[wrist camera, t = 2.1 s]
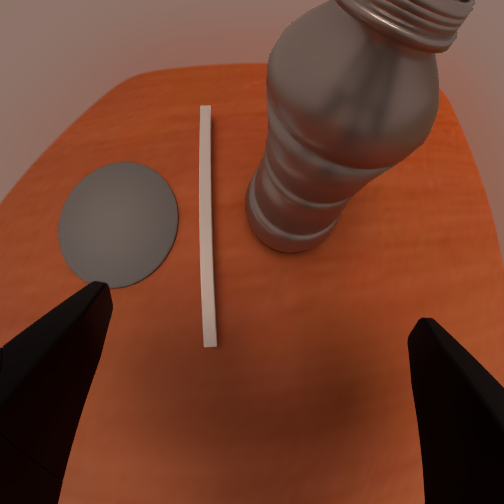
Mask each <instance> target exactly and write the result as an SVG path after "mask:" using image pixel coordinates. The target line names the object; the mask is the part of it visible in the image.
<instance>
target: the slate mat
mask: <svg viewBox="0 0 504 504" xmlns="http://www.w3.org/2000/svg"><path fill="white" fill-rule="evenodd" d="M177 228H178V209H177V204H176V200H175V197H174V195H173V193H172V190H171V188H170V187H169V185H168V184H167V182H166V181H165V180H164V179H163V178H162V176H160V175H159V174H158V173H157V172H156V171H154V170H152V169H151V168H149V167H147V166H144V165H141V164H137V163H131V162H120V163H113V164H109V165H106V166H103V167H101V168H99V169H97V170H95V171H93V172H92V173H90V174H89V175H87V176H86V177H85V178H84V179H83V180H81V181H80V182H79V183H78V184H77V186H76V187H75V188H74V189H73V191H72V192H71V193H70V195H69V197H68V198H67V200H66V202H65V204H64V207H63V209H62V213H61V216H60V221H59V230H58V232H59V244H60V248H61V252H62V254H63V257H64V259H65V261H66V263H67V264H68V266H69V267H70V268H71V270H72V271H73V272H74V273H75V274H76V275H77V276H78V277H80V278H81V279H83V280H84V281H86V282H88V283H91V282H93V281H100V282H106V283H107V284H108V285H109V288H121V287H127V286H130V285H133V284H135V283H137V282H139V281H141V280H143V279H145V278H146V277H148V276H149V275H150V274H152V273H153V272H154V271H155V270H156V269H157V268H158V267H159V266H160V265H161V264H162V263H163V261H164V260H165V258H166V257H167V255H168V254H169V252H170V250H171V248H172V246H173V243H174V240H175V237H176V233H177Z"/></svg>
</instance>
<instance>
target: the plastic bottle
mask: <svg viewBox="0 0 504 504" xmlns="http://www.w3.org/2000/svg"><path fill="white" fill-rule="evenodd" d="M474 4H475V0H330V1H328V2H326V3H323V4H322V5H319V6H317V7H315V8H313V9H312V10H310V11H308V12H307V13H305V14H304V15H302V16H301V17H300V18H298V19H297V20H295V21H294V22H293V23H291V24H290V25H289V26H288V27H287V28H286V29H285V30H284V32H283V33H282V35H281V36H280V38H279V39H278V41H277V42H276V44H275V46H274V48H273V49H272V51H271V53H270V55H269V60H268V65H267V79H266V87H267V116H268V130H267V138H266V147H265V153H264V155H263V158H262V161H261V163H260V166H259V167H258V169H257V170H256V172H255V173H254V175H253V177H252V179H251V181H250V183H249V186H248V188H247V191H246V197H245V209H246V213H247V217H248V221H249V224H250V226H251V228H252V230H253V232H254V233H255V234H256V236H257V237H258V238H259V239H260V240H261V241H262V242H263V243H264V244H266V245H267V246H269V247H270V248H272V249H275V250H278V251H281V252H287V253H293V252H300V251H304V250H308V249H311V248H313V247H315V246H317V245H319V244H320V243H321V242H323V241H324V240H325V239H326V238H327V237H328V236H329V235H330V233H331V232H332V230H333V229H334V227H335V225H336V223H337V221H338V219H339V217H340V215H341V212H342V210H343V209H344V207H345V206H346V204H347V203H348V201H349V200H350V199H351V198H352V197H353V196H354V195H355V194H356V193H357V192H358V191H360V190H361V189H362V188H363V187H364V186H365V185H366V184H367V183H369V182H370V181H372V180H373V179H375V178H376V177H378V176H379V175H381V174H382V173H384V172H386V171H387V170H389V169H390V168H392V167H393V166H395V165H396V164H398V163H399V162H401V161H403V160H404V159H405V158H406V157H408V156H409V155H410V154H411V153H412V152H413V151H415V150H416V149H417V148H418V147H420V146H421V145H422V144H423V143H424V141H425V140H426V138H427V137H428V135H429V133H430V131H431V128H432V126H433V123H434V121H435V118H436V115H437V111H438V107H439V80H438V79H439V78H438V70H437V63H436V57H435V53H442V52H444V51H447V50H448V49H449V47H450V46H451V45H452V43H453V42H454V40H455V39H456V38H457V30H458V29H459V27H460V26H461V25H462V23H463V22H464V20H465V19H466V18H467V16H468V15H469V14H470V12H471V11H472V10H473V8H472V6H473V5H474Z"/></svg>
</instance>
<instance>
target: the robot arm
mask: <svg viewBox="0 0 504 504" xmlns="http://www.w3.org/2000/svg"><path fill="white" fill-rule="evenodd" d="M112 311H113V303H112V298H111V294H110V289H109V285H108V284H107V283H106V282H100V281H93V282H91V283H90V284H88V285H87V286H85V287H84V288H82V289H81V290H79V291H78V292H76V293H75V294H74V295H72V296H71V297H69V298H68V299H66V300H65V301H64V302H62V303H61V304H59V305H58V306H56V307H55V308H54V309H52V310H51V311H49V312H48V313H47V314H45V315H44V316H43V317H41V318H40V319H38V320H37V321H36V322H34V323H33V324H32V325H30V326H29V327H28V328H26V329H25V330H24V331H22V332H21V333H20V334H18V335H17V336H16V337H14V338H13V339H12V340H10V341H9V342H8V343H6V344H5V345H4V346H3V348H2V347H1V348H0V504H58V501H59V496H60V492H61V487H62V483H63V482H62V481H63V478H64V474H65V470H66V466H67V462H68V458H69V455H70V451H71V447H72V444H73V440H74V437H75V433H76V430H77V427H78V423H79V420H80V417H81V414H82V410H83V407H84V404H85V401H86V398H87V395H88V392H89V389H90V386H91V383H92V380H93V377H94V375H95V372H96V369H97V366H98V363H99V360H100V357H101V353H102V350H103V345H104V341H105V338H106V334H107V330H108V326H109V322H110V319H111V315H112ZM408 351H409V361H410V372H411V383H412V390H413V397H414V403H415V409H416V415H417V422H418V430H419V438H420V446H421V455H422V466H423V478H424V494H425V504H504V388H503V387H502V386H501V384H500V383H499V382H498V381H497V380H496V379H495V378H494V377H493V376H492V375H491V374H490V373H489V372H488V371H487V370H486V369H485V368H484V367H483V366H482V365H481V364H480V363H479V362H478V361H477V360H476V359H475V358H474V357H473V356H472V355H471V354H470V353H469V352H468V351H467V350H466V349H465V348H464V347H463V346H462V345H461V344H460V343H459V342H457V341H456V340H455V339H454V338H453V337H452V336H451V335H450V334H449V333H448V332H447V331H446V330H445V329H444V328H443V327H442V326H441V325H439V324H438V323H437V322H436V321H435V320H434V319H432V318H421V319H419V320H418V322H417V324H416V325H415V327H414V328H413V330H412V331H411V333H410V335H409V337H408Z"/></svg>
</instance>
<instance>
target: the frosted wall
mask: <svg viewBox="0 0 504 504" xmlns="http://www.w3.org/2000/svg"><path fill="white" fill-rule="evenodd" d="M199 228H200V271H201V298H202V320H203V339H204V347H217V345H218V342H217V324H216V304H215V282H214V256H213V223H212V164H211V105H208V106H201V107H200V149H199Z"/></svg>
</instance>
